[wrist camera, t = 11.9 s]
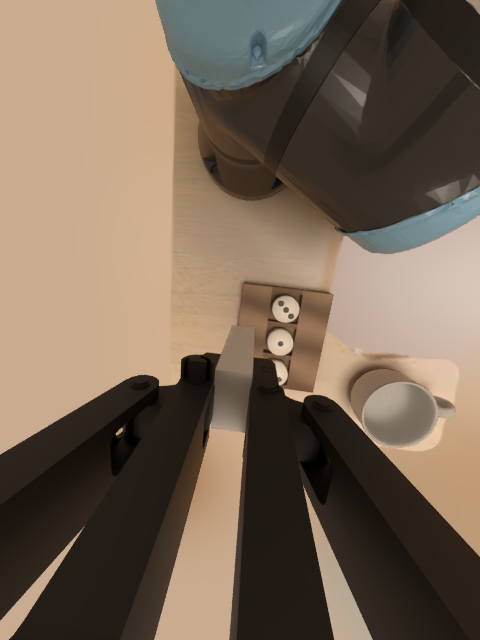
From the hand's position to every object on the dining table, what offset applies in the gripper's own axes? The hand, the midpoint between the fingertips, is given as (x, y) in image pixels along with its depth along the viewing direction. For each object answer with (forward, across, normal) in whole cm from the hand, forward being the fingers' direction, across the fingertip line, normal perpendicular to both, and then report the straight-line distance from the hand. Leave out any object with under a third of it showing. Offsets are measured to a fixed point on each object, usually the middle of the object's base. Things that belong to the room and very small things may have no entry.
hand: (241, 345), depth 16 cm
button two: (+23, +5, -12) cm, 27 cm away
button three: (+23, +6, -1) cm, 24 cm away
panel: (+24, +6, -7) cm, 26 cm away
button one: (+23, +6, -7) cm, 25 cm away
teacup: (+25, +25, -14) cm, 38 cm away
